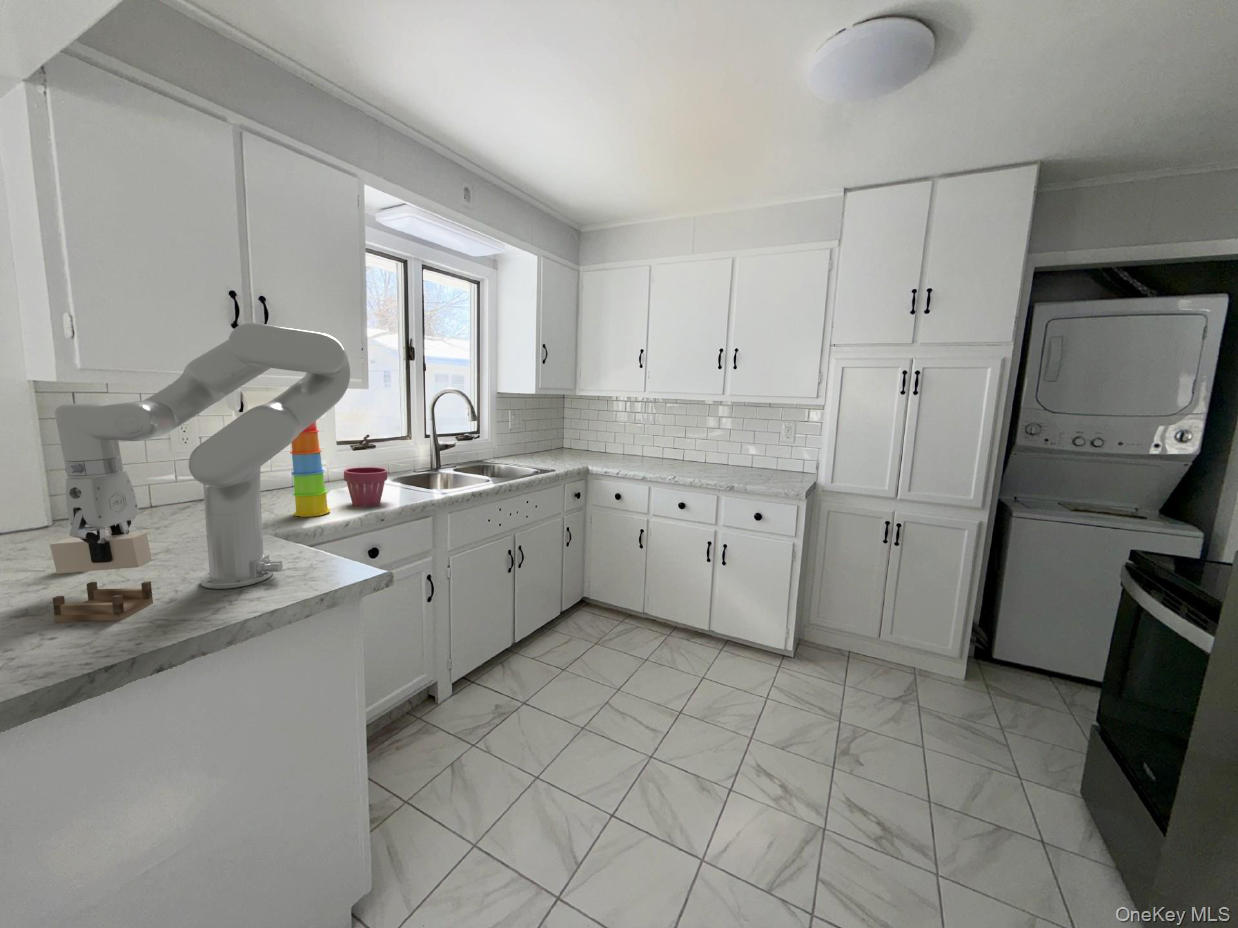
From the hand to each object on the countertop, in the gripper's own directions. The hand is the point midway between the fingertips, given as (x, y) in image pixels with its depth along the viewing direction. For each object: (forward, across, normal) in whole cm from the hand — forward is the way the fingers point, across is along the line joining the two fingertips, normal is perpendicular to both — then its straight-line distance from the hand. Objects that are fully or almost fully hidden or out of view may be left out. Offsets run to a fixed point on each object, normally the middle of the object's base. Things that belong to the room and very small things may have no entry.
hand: (111, 557), depth 97 cm
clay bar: (+2, 0, +1) cm, 2 cm away
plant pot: (+10, +79, -20) cm, 83 cm away
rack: (+7, -10, -5) cm, 13 cm away
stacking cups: (+9, +64, -8) cm, 66 cm away
